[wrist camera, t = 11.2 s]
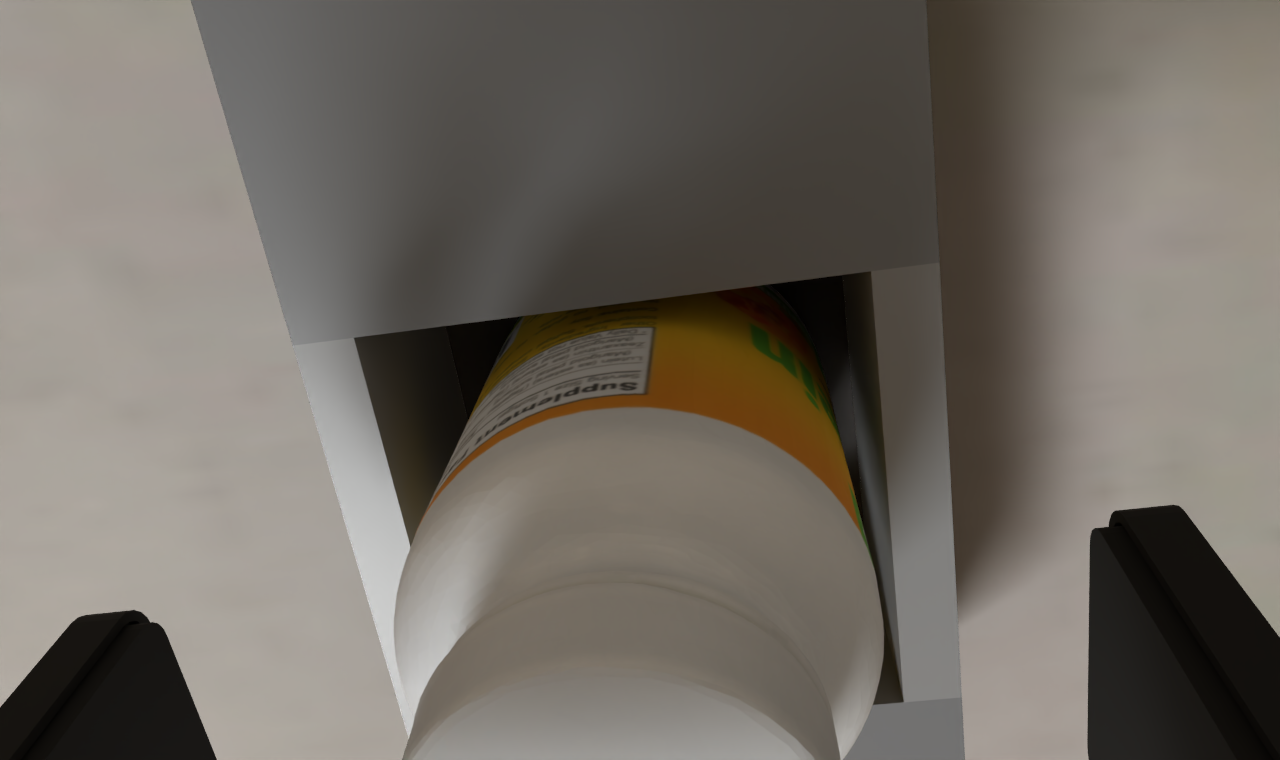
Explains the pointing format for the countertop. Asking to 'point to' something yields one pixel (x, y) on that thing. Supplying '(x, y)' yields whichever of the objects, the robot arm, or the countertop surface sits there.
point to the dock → (602, 237)
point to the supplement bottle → (644, 548)
